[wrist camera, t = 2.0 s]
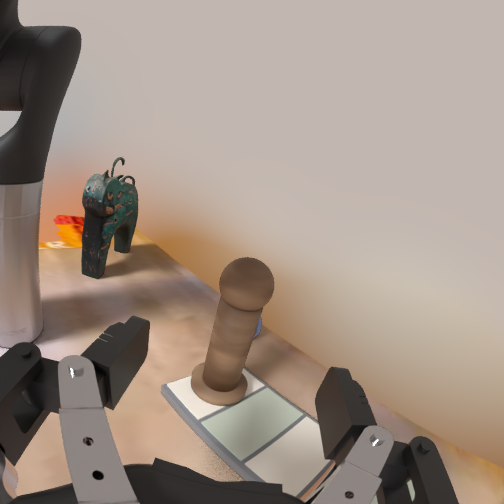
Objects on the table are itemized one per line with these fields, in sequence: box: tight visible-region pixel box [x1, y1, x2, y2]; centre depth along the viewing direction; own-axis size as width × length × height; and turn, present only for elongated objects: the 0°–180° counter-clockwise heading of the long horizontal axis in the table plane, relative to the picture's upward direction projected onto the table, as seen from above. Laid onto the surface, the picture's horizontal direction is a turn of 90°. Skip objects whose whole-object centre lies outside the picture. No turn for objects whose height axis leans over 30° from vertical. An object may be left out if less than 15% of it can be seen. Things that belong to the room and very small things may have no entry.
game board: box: [161, 367, 415, 504], centre depth 19 cm, size 27×10×1 cm, turn 46°
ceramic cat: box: [82, 157, 138, 279], centre depth 46 cm, size 20×6×20 cm, turn 2°
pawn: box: [191, 257, 274, 406], centre depth 23 cm, size 6×6×14 cm
